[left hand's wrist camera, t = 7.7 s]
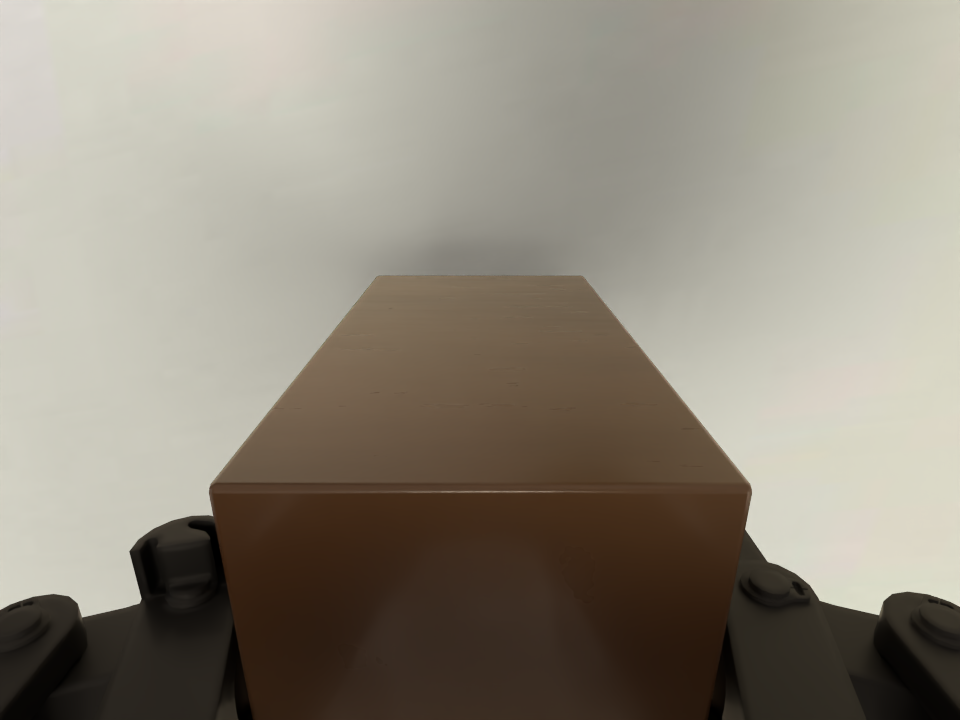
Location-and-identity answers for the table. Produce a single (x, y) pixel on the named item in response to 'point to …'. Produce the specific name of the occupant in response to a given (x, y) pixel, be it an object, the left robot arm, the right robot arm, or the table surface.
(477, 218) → the table surface
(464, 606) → the bar
